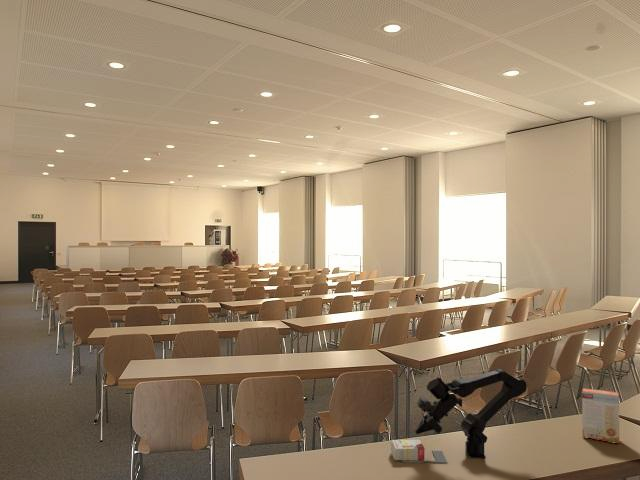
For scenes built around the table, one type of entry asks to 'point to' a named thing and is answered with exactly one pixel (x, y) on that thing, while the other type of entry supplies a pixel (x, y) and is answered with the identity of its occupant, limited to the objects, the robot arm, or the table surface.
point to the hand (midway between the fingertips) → (415, 433)
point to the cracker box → (600, 415)
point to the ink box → (407, 450)
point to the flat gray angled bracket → (438, 457)
